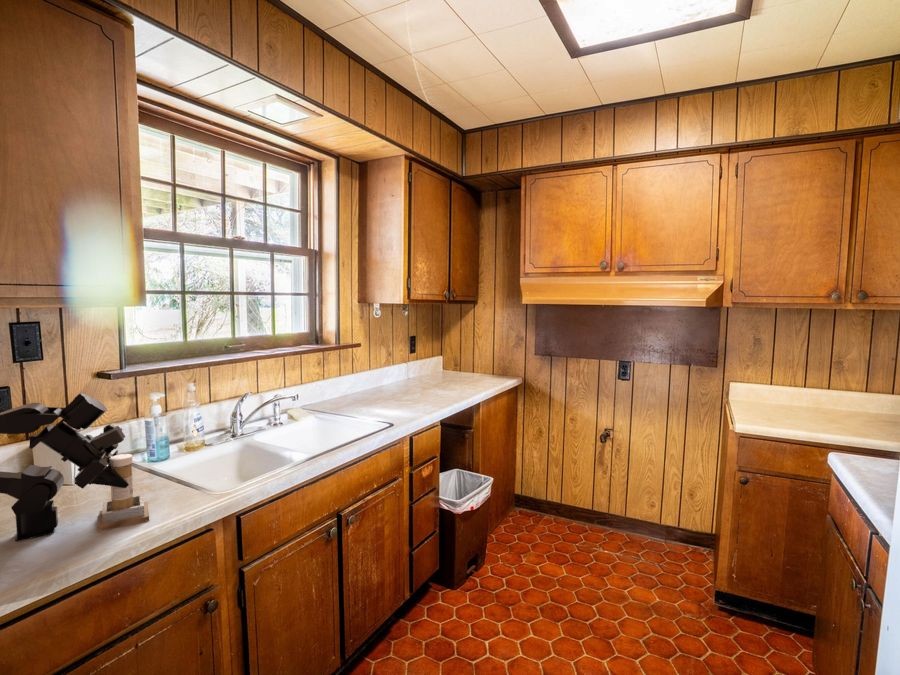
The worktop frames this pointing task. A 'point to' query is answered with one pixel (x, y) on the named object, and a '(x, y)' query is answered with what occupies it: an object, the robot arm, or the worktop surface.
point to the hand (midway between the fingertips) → (128, 482)
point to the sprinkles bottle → (124, 469)
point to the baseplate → (123, 522)
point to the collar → (123, 511)
